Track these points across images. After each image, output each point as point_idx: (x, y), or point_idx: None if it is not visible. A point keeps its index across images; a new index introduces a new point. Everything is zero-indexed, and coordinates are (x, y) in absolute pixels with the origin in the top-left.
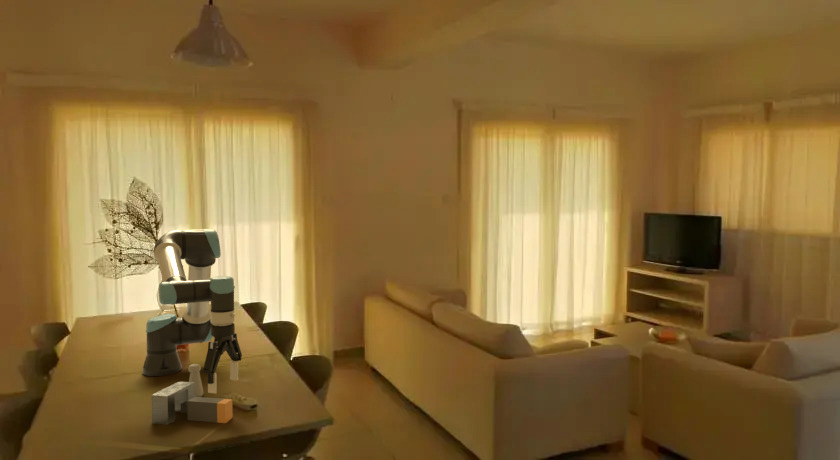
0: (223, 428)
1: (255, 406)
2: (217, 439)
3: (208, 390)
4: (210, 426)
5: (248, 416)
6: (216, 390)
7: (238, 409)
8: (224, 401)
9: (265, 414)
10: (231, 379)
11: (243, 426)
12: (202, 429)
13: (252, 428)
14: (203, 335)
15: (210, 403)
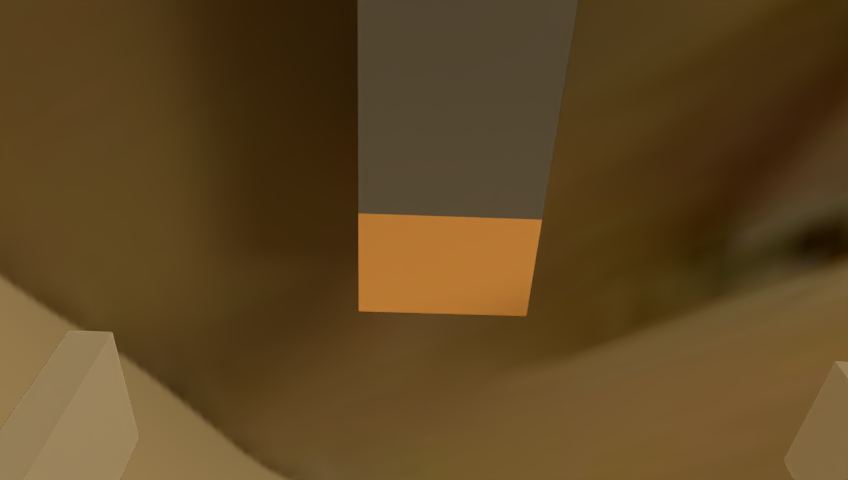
0: (251, 235)
1: (821, 257)
2: (32, 293)
3: (50, 370)
4: (258, 101)
5: (557, 302)
6: (119, 468)
7: (751, 145)
8: (437, 269)
9: (608, 393)
10: (827, 389)
11: (335, 352)
12: (163, 63)
13: (315, 416)
14: None
15: (359, 115)
